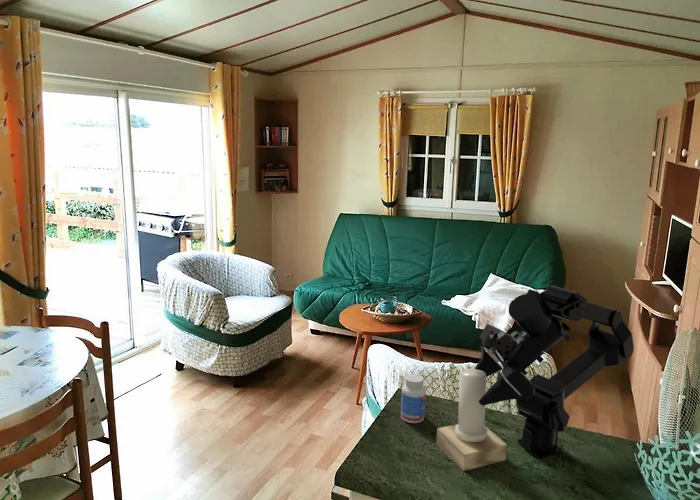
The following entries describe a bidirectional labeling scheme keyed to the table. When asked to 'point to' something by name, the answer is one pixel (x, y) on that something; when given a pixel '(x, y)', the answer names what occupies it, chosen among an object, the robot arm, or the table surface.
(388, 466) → the table surface
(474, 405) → the white flanged cylinder
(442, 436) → the oak box
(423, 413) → the pill bottle
